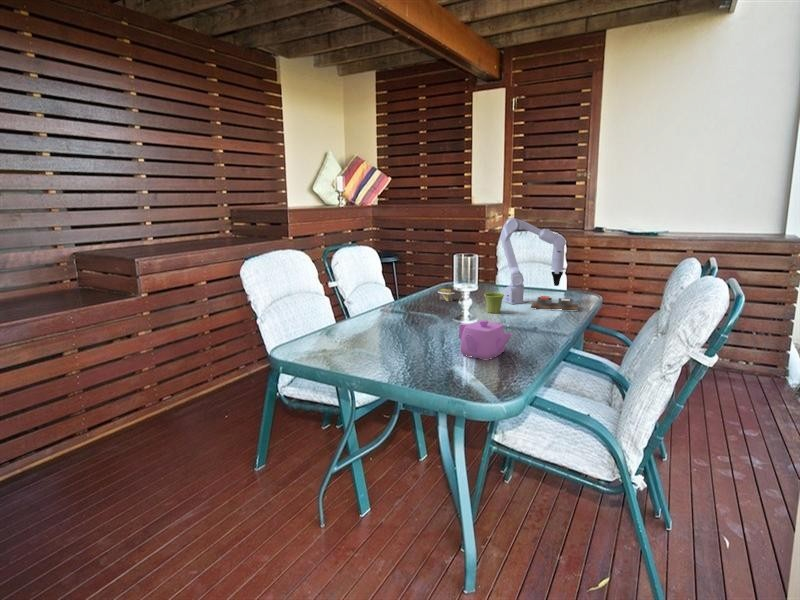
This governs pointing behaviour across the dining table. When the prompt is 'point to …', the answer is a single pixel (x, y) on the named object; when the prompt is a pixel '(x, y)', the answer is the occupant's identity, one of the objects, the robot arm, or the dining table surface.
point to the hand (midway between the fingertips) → (556, 285)
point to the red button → (544, 297)
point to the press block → (554, 304)
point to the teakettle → (483, 339)
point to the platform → (446, 294)
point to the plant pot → (493, 302)
